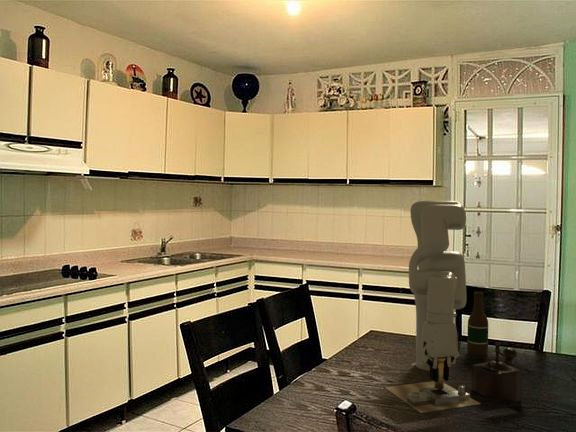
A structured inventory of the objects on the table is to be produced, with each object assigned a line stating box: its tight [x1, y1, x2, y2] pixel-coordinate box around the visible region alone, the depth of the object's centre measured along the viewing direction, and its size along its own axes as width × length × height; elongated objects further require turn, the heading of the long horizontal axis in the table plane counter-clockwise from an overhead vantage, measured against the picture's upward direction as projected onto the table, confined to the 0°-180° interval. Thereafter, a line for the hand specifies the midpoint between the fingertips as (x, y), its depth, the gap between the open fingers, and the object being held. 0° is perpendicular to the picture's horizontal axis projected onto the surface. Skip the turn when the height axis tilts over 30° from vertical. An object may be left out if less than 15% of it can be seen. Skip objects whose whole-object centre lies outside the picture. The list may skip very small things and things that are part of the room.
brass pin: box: [434, 357, 446, 389], centre depth 151 cm, size 3×3×9 cm
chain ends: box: [407, 385, 471, 407], centre depth 152 cm, size 19×8×3 cm, turn 109°
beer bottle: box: [466, 291, 489, 357], centre depth 203 cm, size 8×8×24 cm
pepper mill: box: [471, 343, 523, 404], centre depth 155 cm, size 16×11×18 cm
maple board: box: [385, 380, 482, 414], centre depth 156 cm, size 20×20×2 cm
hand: (439, 379), depth 152 cm, fingers open, 2 cm apart
